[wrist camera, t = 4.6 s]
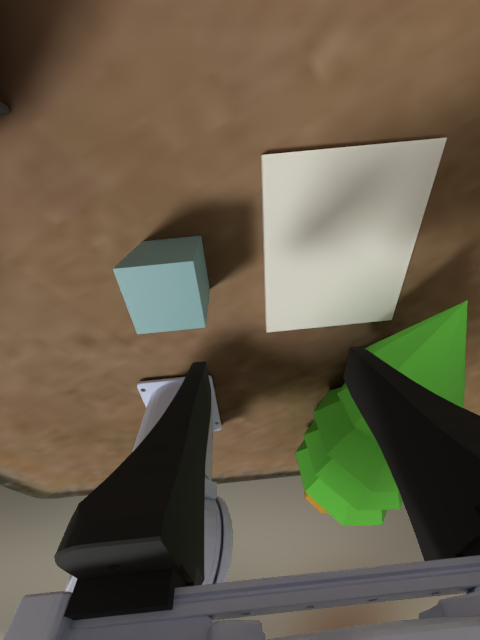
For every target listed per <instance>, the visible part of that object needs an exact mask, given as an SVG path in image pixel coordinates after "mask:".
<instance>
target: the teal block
mask: <svg viewBox="0 0 480 640" xmlns="http://www.w3.org/2000/svg"><path fill="white" fill-rule="evenodd" d="M113 271H114V274H115V276H116V279H117V281H118V284H119V287H120V289H121V292H122V295H123V297H124V300H125V303H126V305H127V308H128V311H129V313H130V316H131V319H132V321H133V324H134V327H135V329H136V332H137V334H145V333H155V332H165V331H175V330H185V329H195V328H205V327H206V319H207V310H208V301H209V292H210V287H209V281H208V275H207V269H206V262H205V256H204V250H203V244H202V238H201V236H192V237H182V238H171V239H161V240H151V241H142V242H141V243H140V244H139V245H138V246H137V247H136V248H135V249H134V250H133V251H132V252H131V253H129V254H128V255H127V256H126V257H125V258H124V259H123V260H122V261H121V262H120V263H119V264H118V265H116V266H115V267H114V268H113Z"/></svg>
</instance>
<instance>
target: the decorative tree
mask: <svg viewBox="0 0 480 640" xmlns="http://www.w3.org/2000/svg"><path fill="white" fill-rule="evenodd" d="M467 305H468V300H467V301H464V302H462V303H460V304H458V305H456V306H454V307H452V308H449V309H447V310H445V311H443V312H441V313H439V314H437V315H434V316H432V317H430V318H428V319H426V320H424V321H422V322H419V323H417V324H415V325H413V326H411V327H409V328H407V329H404V330H402V331H400V332H398V333H396V334H394V335H392V336H389V337H387V338H385V339H383V340H381V341H379V342H377V343H374V344H372V345H370V346H368V347H366V348H365V349H367V350H368V351H370V352H371V353H373V354H374V355H375V356H377V357H378V358H380V359H381V360H383V361H384V362H386V363H387V364H389V365H390V366H392V367H393V368H394V369H396V370H397V371H399V372H400V373H402V374H404V375H405V376H407V377H408V378H410V379H411V380H413V381H415V382H416V383H418V384H420V385H421V386H423V387H425V388H426V389H428V390H430V391H431V392H433V393H435V394H437V395H439V396H440V397H442V398H444V399H446V400H448V401H450V402H452V403H454V404H456V405H458V406H460V407H462V408H463V405H464V387H465V360H466V332H467ZM313 414H314V417H315V420H314V422H313V423H312V424H311V426H310V427H309V428H308V430H307V431H306V432H305V434H304V439H305V440H304V441H303V443H302V444H301V445H300V447H299V448H298V449H297V451H296V452H295V454H296V458H297V462H298V466H299V470H300V474H301V478H302V482H303V486H304V493H305V499H306V500H307V501H308V502H310V503H311V504H312V505H313V506H314V507H315V508H316V509H318V510H319V511H320V512H321V513H322V514H330V515H331V516H332V517H334V518H335V519H336V520H337V521H338V522H339V523H340V524H341V525H342V526H353V525H382V524H383V521H384V517H385V514H386V511H387V510H393V509H394V510H395V509H401V504H402V501H403V500H402V498H401V495H400V492H399V490H398V488H397V485H396V483H395V481H394V478H393V476H392V473H391V471H390V469H389V466H388V464H387V462H386V460H385V458H384V455H383V453H382V451H381V449H380V447H379V445H378V443H377V441H376V439H375V437H374V435H373V434H372V432H371V430H370V428H369V427H368V425H367V423H366V422H365V420H364V418H363V416H362V415H361V413H360V411H359V409H358V408H357V406H356V404H355V402H354V400H353V399H352V397H351V395H350V392H349V390H348V388H347V385H346V383H344V384H343V386H342V387H340V388H337V389H333V390H330V391H329V392H328V393H327V395H326V396H325V397H324V399H323V400H322V401H321V403H320V404H319V405H318V407H317V408H316V409H315V411H314V412H313Z"/></svg>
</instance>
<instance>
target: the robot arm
mask: <svg viewBox="0 0 480 640" xmlns="http://www.w3.org/2000/svg"><path fill="white" fill-rule="evenodd" d="M343 378H344V380H345V383H346V385H347V388H348V390H349V392H350V395H351V397H352V399H353V400H354V402H355V404H356V406H357V408H358V409H359V411H360V413H361V415H362V416H363V418H364V420H365V422H366V423H367V425H368V427H369V428H370V430H371V432H372V434H373V435H374V437H375V439H376V441H377V443H378V445H379V447H380V449H381V451H382V453H383V455H384V458H385V460H386V462H387V464H388V466H389V469H390V471H391V473H392V476H393V478H394V481H395V483H396V485H397V488H398V490H399V492H400V495H401V498H402V500H403V503H404V505H405V508H406V510H407V513H408V515H409V518H410V521H411V523H412V526H413V529H414V532H415V534H416V537H417V540H418V543H419V545H420V549H421V552H422V555H423V557H424V560H425V561H423V562H413V563H404V564H393V565H384V566H375V567H366V568H356V569H347V570H337V571H328V572H319V573H309V574H300V575H291V576H281V577H272V578H262V579H253V580H244V581H235V582H225V581H226V579H227V576H228V572H229V568H230V563H231V557H232V546H233V530H232V522H231V517H230V514H229V511H228V508H227V505H226V503H225V501H224V500H223V499H222V498H220V497H217V483H216V482H212V481H211V478H212V457H213V431H217V430H220V429H221V421H220V416H219V411H218V406H217V401H216V396H215V390H214V385H213V380H212V377H211V376H210V375H208V371H207V366H206V361H205V362H195V363H193V364H192V365H191V367H190V369H189V371H188V373H187V375H186V377H178V378H168V379H158V380H148V381H140V382H138V385H137V388H138V390H139V392H140V395H141V397H142V399H143V401H144V404H145V406H146V411H145V414H144V417H143V420H142V423H141V427H140V430H139V433H138V436H137V439H136V442H135V446H134V449H133V452H132V453H131V454H130V455H129V456H128V457H127V458H126V460H125V461H124V462H123V463H122V464H121V465H120V466H119V467H118V468H117V469H116V470H115V471H114V472H113V473H112V474H111V475H110V476H109V477H108V478H107V479H106V480H105V481H104V482H102V483H101V484H100V485H99V486H98V487H97V488H96V489H95V490H94V491H93V492H91V493H90V494H89V495H88V496H87V497H86V498H85V499H84V500H83V501H81V502H80V503H79V504H78V507H77V509H76V511H75V512H74V514H73V516H72V518H71V520H70V522H69V524H68V526H67V529H66V531H65V533H64V536H63V538H62V541H61V543H60V545H59V547H58V550H57V552H56V554H55V557H54V558H55V562H56V564H57V565H58V566H59V567H60V568H61V569H63V570H64V571H66V572H67V573H69V574H70V575H69V578H68V581H67V585H66V589H65V591H63V592H62V591H61V592H50V593H40V594H31V595H25V596H24V597H23V598H22V599H21V601H20V603H19V605H18V607H17V609H16V612H15V614H14V616H13V618H12V620H11V623H10V624H9V627H8V629H7V631H6V633H5V635H4V637H3V640H265V634H264V633H263V631H262V624H261V623H260V621H255V620H223V621H217V622H214V621H215V620H219V619H228V618H238V617H247V616H256V615H265V614H275V613H284V612H293V611H302V610H311V609H321V608H330V607H338V606H348V605H357V604H367V603H376V602H385V601H393V600H403V599H413V598H422V597H430V596H440V595H450V594H459V593H466V594H464V595H460V596H455V597H451V598H446V599H442V600H439V602H438V604H437V605H436V606H434V607H433V608H431V609H429V610H426V611H424V612H422V613H420V614H419V619H413V620H402V621H393V622H383V623H374V624H366V625H359V626H352V627H344V628H338V629H331V630H324V631H317V632H311V633H305V634H299V635H293V636H287V637H280V638H274V639H268V640H480V416H479V415H477V414H474V413H472V412H470V411H468V410H466V409H464V408H462V407H460V406H458V405H456V404H454V403H452V402H450V401H448V400H446V399H444V398H442V397H440V396H439V395H437V394H435V393H433V392H431V391H430V390H428V389H426V388H425V387H423V386H421V385H420V384H418V383H416V382H415V381H413V380H411V379H410V378H408V377H407V376H405V375H404V374H402V373H400V372H399V371H397V370H396V369H394V368H393V367H392V366H390V365H389V364H387V363H386V362H384V361H383V360H381V359H380V358H378V357H377V356H375V355H374V354H373V353H371V352H370V351H368V350H367V349H365V348H363V347H352V348H350V349H349V354H348V358H347V363H346V367H345V372H344V377H343Z"/></svg>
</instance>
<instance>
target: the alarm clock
mask: <svg viewBox="0 0 480 640" xmlns="http://www.w3.org/2000/svg"><path fill="white" fill-rule="evenodd" d="M8 113H9V108H8V107H7V105H5V104H4V103H2V102H0V115H7V114H8Z"/></svg>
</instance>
